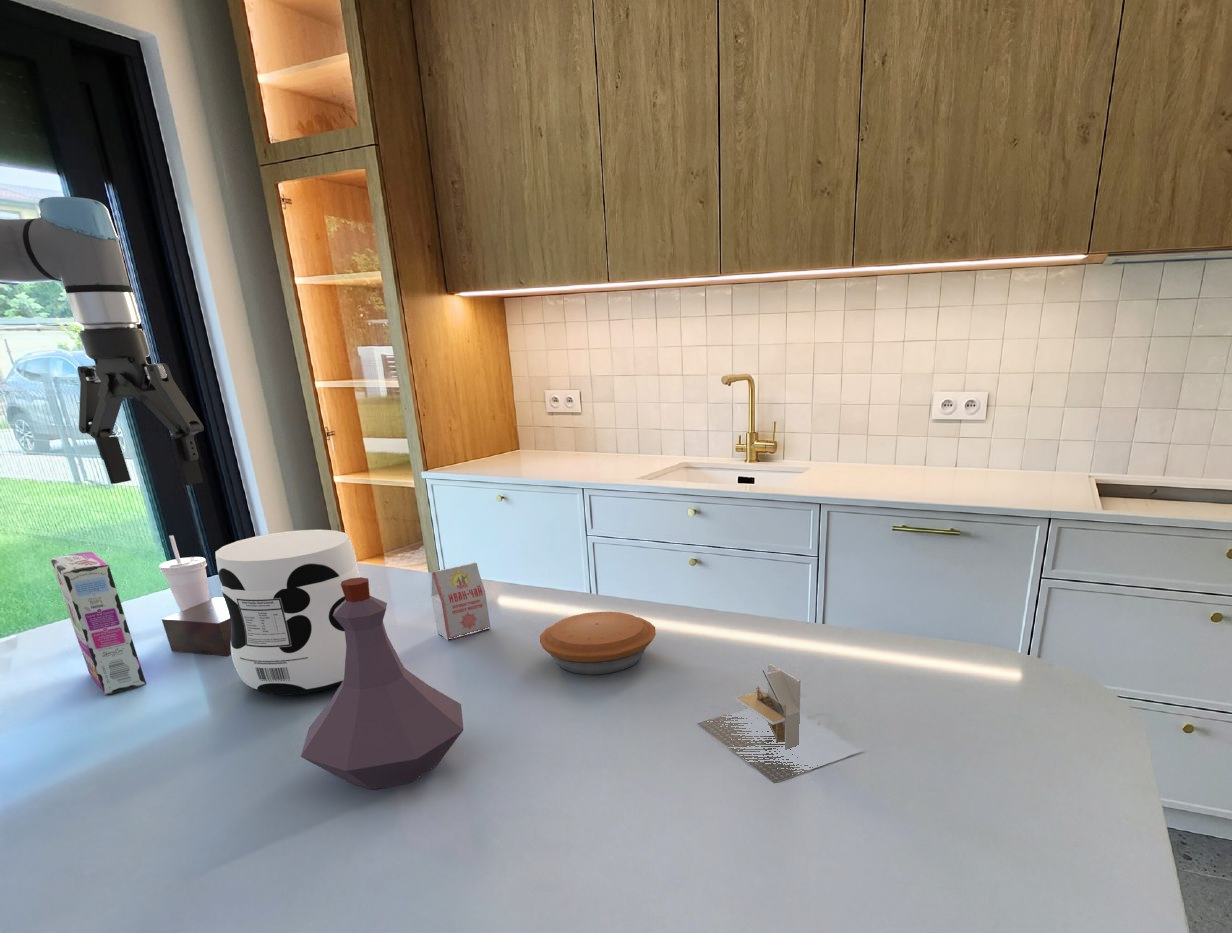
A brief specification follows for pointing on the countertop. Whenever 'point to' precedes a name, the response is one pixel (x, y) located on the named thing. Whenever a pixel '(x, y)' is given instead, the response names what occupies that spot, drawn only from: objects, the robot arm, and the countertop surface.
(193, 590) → the smoothie
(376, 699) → the flask
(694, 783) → the countertop surface
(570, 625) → the pie
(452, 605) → the tea bag
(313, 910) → the countertop surface
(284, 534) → the milk container
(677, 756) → the countertop surface
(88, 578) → the candy bar box
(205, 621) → the walnut block
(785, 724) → the architectural model
